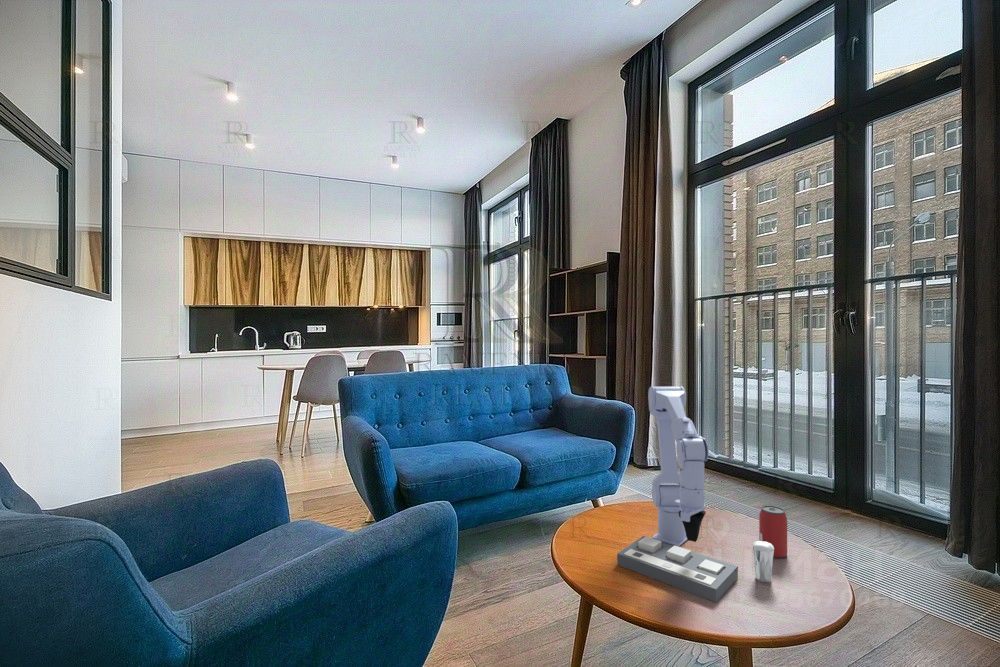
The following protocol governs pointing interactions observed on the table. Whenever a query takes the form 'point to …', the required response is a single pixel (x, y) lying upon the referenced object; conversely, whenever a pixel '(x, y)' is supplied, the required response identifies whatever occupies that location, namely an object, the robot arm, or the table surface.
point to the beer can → (774, 529)
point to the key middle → (679, 554)
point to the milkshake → (763, 560)
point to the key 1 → (649, 544)
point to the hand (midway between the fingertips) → (692, 540)
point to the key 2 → (711, 567)
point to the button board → (679, 570)
